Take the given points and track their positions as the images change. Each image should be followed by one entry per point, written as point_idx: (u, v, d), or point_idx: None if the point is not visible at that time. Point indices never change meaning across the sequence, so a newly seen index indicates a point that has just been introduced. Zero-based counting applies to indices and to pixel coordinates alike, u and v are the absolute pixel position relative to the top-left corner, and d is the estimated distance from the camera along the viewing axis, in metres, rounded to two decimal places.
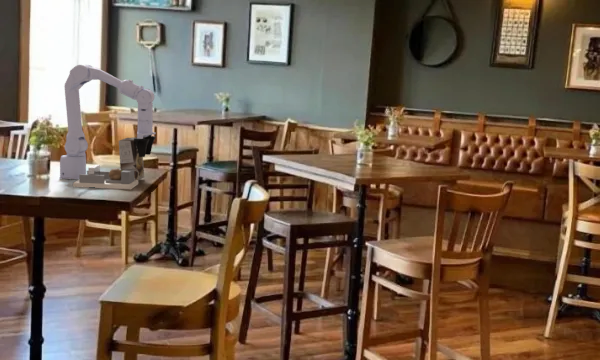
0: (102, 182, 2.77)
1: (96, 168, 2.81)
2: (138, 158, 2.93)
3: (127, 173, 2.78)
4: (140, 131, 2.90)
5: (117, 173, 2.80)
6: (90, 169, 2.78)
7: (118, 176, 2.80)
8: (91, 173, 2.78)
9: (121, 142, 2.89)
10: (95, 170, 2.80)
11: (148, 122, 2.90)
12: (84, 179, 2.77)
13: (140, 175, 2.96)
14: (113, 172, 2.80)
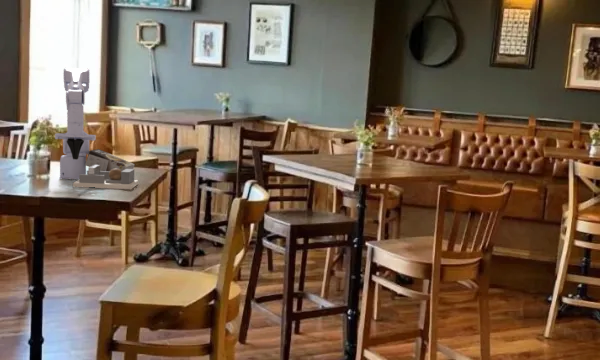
0: (102, 182, 2.77)
1: (96, 168, 2.81)
2: (109, 156, 2.95)
3: (127, 173, 2.78)
4: None
5: (117, 173, 2.80)
6: (90, 169, 2.78)
7: (118, 176, 2.80)
8: (91, 173, 2.78)
9: (87, 163, 2.94)
10: (95, 170, 2.80)
11: (68, 123, 2.78)
12: (84, 179, 2.77)
13: (127, 163, 2.96)
14: (113, 172, 2.80)
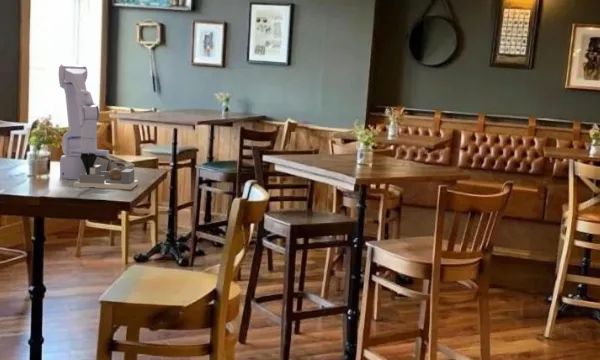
0: (102, 182, 2.77)
1: (97, 168, 2.81)
2: (109, 156, 2.95)
3: (127, 173, 2.78)
4: None
5: (117, 173, 2.80)
6: (91, 169, 2.78)
7: (118, 176, 2.80)
8: (92, 173, 2.78)
9: None
10: (96, 170, 2.80)
11: (81, 139, 2.79)
12: (84, 179, 2.77)
13: (127, 163, 2.96)
14: (113, 172, 2.80)
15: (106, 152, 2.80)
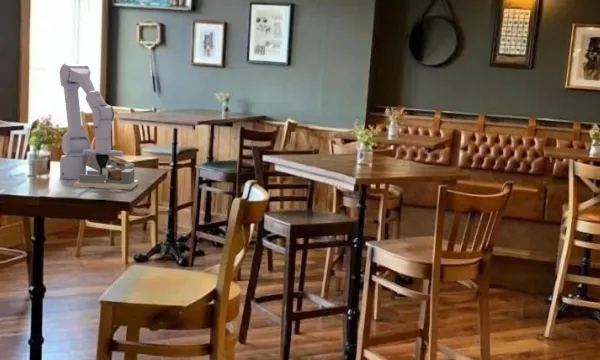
0: (102, 182, 2.77)
1: (109, 169, 2.81)
2: None
3: (127, 173, 2.78)
4: None
5: (118, 173, 2.80)
6: (104, 170, 2.78)
7: (119, 176, 2.80)
8: (105, 174, 2.78)
9: (87, 163, 2.94)
10: (109, 171, 2.80)
11: (95, 140, 2.78)
12: (84, 179, 2.77)
13: (127, 163, 2.96)
14: (115, 172, 2.80)
15: (120, 153, 2.80)
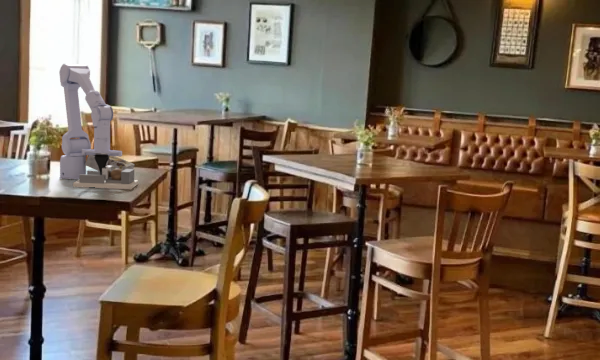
0: (102, 182, 2.77)
1: (109, 169, 2.81)
2: None
3: (127, 173, 2.78)
4: None
5: (118, 173, 2.80)
6: (104, 170, 2.78)
7: (119, 176, 2.80)
8: (105, 174, 2.78)
9: (87, 163, 2.94)
10: (109, 171, 2.80)
11: (95, 140, 2.78)
12: (84, 179, 2.77)
13: (127, 163, 2.96)
14: (115, 172, 2.80)
15: (119, 153, 2.80)
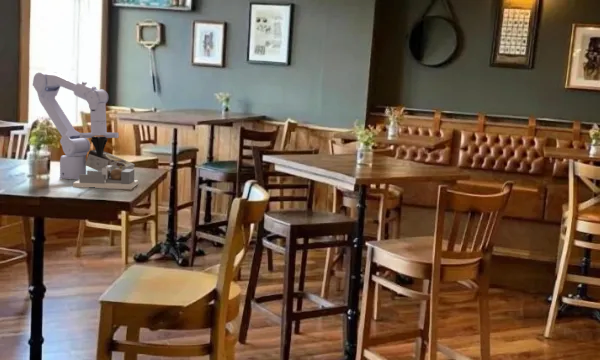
0: (102, 182, 2.77)
1: (109, 169, 2.81)
2: (109, 156, 2.95)
3: (127, 173, 2.78)
4: None
5: (118, 173, 2.80)
6: (103, 170, 2.78)
7: (119, 176, 2.80)
8: (104, 174, 2.78)
9: (87, 163, 2.94)
10: (108, 171, 2.80)
11: (91, 122, 2.87)
12: (84, 179, 2.77)
13: (127, 163, 2.96)
14: (115, 172, 2.80)
15: (116, 134, 2.88)
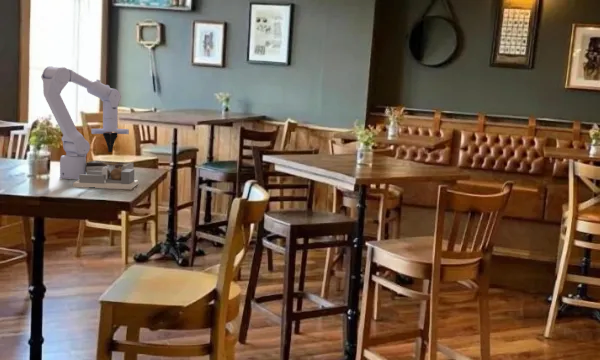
0: (102, 182, 2.77)
1: (109, 169, 2.81)
2: (106, 162, 2.97)
3: (127, 173, 2.78)
4: None
5: (118, 173, 2.80)
6: (103, 170, 2.78)
7: (119, 176, 2.80)
8: (104, 174, 2.78)
9: None
10: (108, 171, 2.80)
11: (105, 119, 3.03)
12: (84, 179, 2.77)
13: (126, 163, 2.97)
14: (115, 172, 2.80)
15: (127, 131, 3.07)
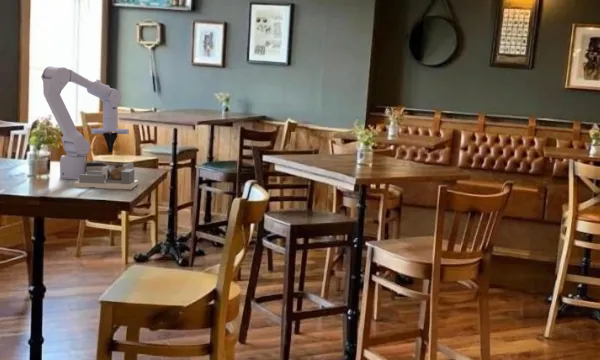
0: (102, 182, 2.77)
1: (109, 169, 2.81)
2: (106, 162, 2.97)
3: (127, 173, 2.78)
4: None
5: (118, 173, 2.80)
6: (103, 170, 2.78)
7: (119, 176, 2.80)
8: (104, 174, 2.78)
9: None
10: (108, 171, 2.80)
11: (105, 119, 3.03)
12: (84, 179, 2.77)
13: (126, 163, 2.97)
14: (115, 172, 2.80)
15: (127, 131, 3.07)
